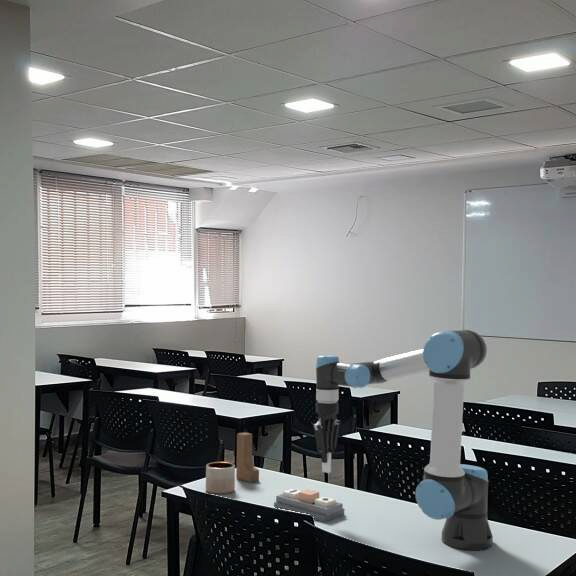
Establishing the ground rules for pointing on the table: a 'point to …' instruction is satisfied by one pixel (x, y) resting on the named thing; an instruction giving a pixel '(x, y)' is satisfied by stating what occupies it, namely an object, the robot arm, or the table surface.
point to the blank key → (308, 496)
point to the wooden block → (245, 459)
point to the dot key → (325, 502)
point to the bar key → (292, 494)
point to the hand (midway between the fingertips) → (326, 471)
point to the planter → (220, 477)
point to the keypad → (310, 508)
